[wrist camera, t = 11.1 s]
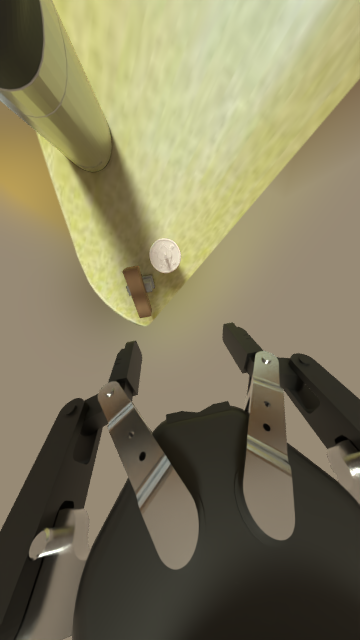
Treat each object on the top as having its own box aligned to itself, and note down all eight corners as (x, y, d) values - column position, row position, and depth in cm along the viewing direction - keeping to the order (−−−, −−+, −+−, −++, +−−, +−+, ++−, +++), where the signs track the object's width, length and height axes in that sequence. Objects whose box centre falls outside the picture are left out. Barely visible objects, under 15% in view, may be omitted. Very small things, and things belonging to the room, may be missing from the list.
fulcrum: (127, 279, 37) (123, 284, 33) (151, 274, 37) (151, 279, 33) (131, 291, 39) (128, 298, 35) (155, 287, 39) (154, 293, 35)
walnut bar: (125, 267, 31) (122, 271, 28) (138, 265, 31) (136, 268, 28) (141, 311, 37) (139, 318, 34) (151, 309, 37) (151, 316, 34)
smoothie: (172, 234, 32) (181, 234, 21) (178, 261, 36) (187, 274, 24) (147, 240, 32) (141, 244, 21) (155, 267, 36) (154, 282, 24)
